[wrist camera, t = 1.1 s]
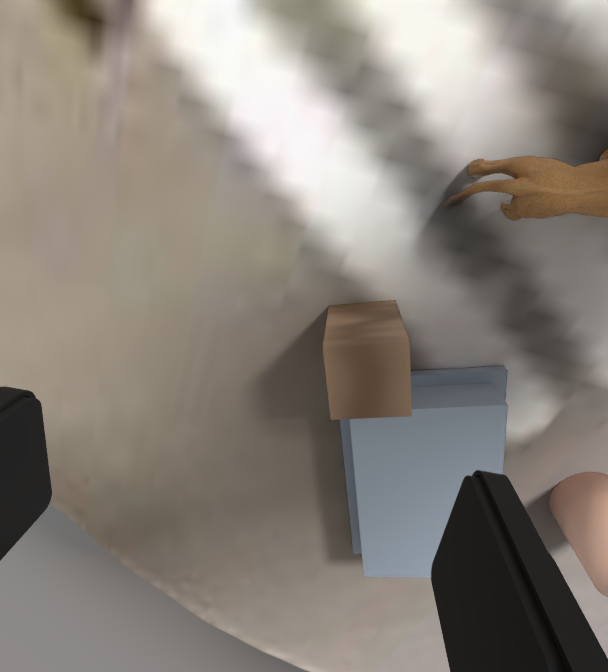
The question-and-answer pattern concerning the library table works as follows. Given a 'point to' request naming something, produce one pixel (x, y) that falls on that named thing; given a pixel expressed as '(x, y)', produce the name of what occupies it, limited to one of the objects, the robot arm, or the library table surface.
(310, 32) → the library table surface
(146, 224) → the library table surface
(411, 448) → the plinth
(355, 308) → the walnut block
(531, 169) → the lion figurine
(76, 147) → the library table surface
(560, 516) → the peach capsule shape
